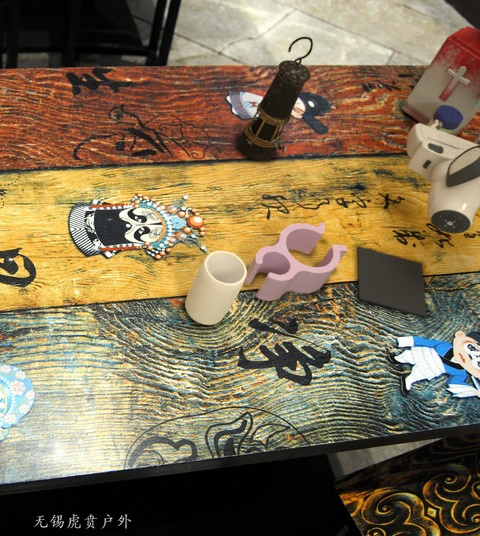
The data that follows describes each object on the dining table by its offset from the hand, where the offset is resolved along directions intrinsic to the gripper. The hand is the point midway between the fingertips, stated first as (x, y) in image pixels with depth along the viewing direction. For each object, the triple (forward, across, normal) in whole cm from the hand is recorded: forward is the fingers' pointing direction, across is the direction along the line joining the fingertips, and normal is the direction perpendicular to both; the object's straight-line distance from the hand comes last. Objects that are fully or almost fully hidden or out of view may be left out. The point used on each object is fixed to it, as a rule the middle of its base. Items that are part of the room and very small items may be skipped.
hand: (458, 130), depth 159 cm
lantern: (-8, +38, +17) cm, 43 cm away
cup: (-59, +37, +17) cm, 72 cm away
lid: (+12, 0, +5) cm, 13 cm away
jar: (+12, 0, +17) cm, 21 cm away
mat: (-33, +3, +17) cm, 37 cm away
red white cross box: (+25, -1, +17) cm, 30 cm away
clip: (-42, +24, +17) cm, 51 cm away
